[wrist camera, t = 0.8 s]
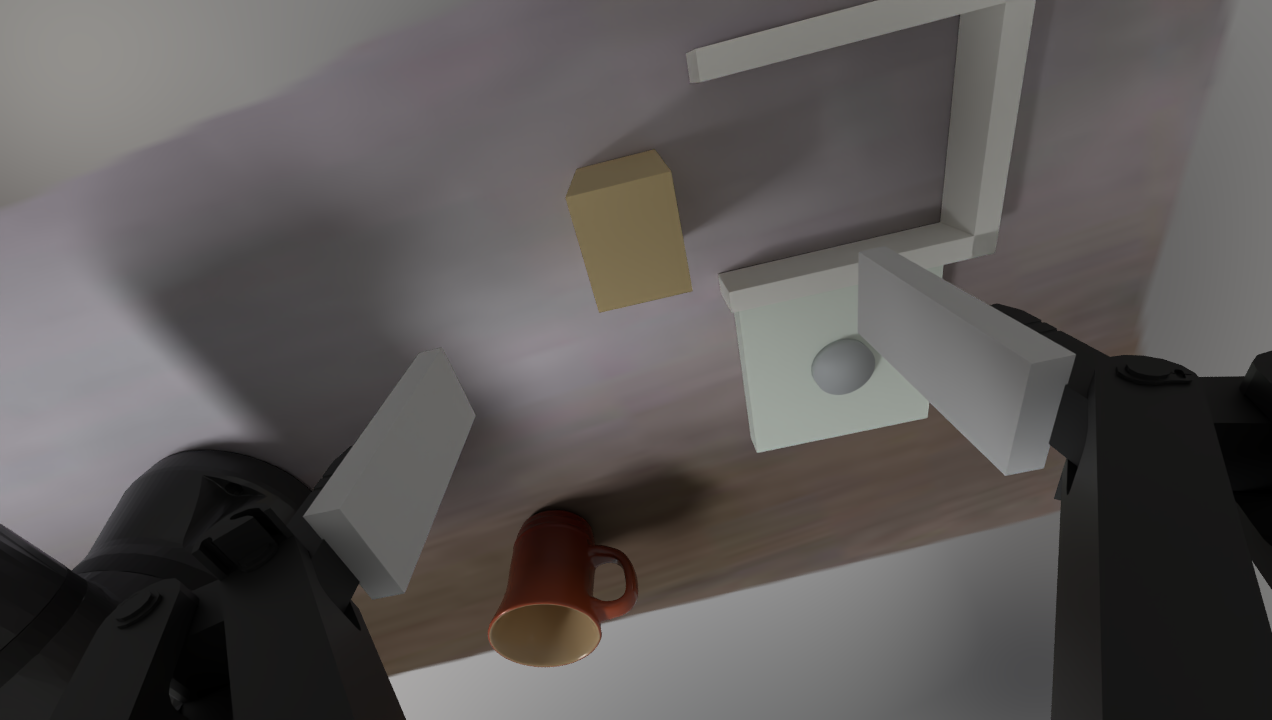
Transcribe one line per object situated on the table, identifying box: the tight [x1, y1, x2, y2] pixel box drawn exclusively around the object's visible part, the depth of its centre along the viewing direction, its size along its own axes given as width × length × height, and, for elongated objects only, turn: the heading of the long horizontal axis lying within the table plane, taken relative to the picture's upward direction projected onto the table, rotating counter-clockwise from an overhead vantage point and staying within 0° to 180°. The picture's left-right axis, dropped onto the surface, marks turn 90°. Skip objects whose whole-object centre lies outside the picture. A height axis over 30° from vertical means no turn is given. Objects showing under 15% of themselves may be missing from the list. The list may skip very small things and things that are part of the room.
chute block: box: [565, 149, 692, 313], centre depth 27 cm, size 5×6×9 cm
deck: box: [686, 0, 1036, 453], centre depth 32 cm, size 17×29×4 cm, turn 13°
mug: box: [488, 510, 638, 667], centre depth 41 cm, size 12×9×10 cm
